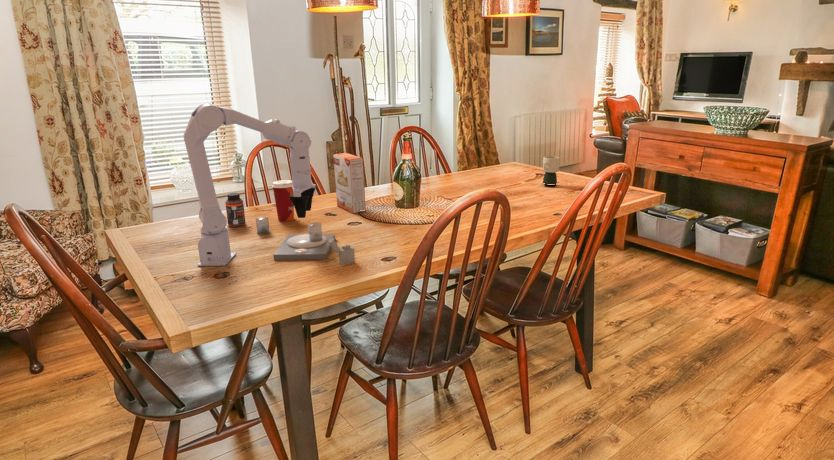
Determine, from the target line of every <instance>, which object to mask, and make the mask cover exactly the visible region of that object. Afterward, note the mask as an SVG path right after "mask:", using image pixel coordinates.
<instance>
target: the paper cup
mask: <svg viewBox="0 0 834 460" xmlns="http://www.w3.org/2000/svg"><path fill="white" fill-rule="evenodd" d="M271 187H272V189H273V195H274V197H273V198H274V203H275V208H276V214H277V220H278V221H279V222H283V223H284V222H285V223H286V222H292V221H294V220H295V207H294V205H293V203H292V201H291V200H290V198H289V196H290V195H293V189H292V179H291V180H289V179H282V180H275V181H273V182H272V185H271Z"/></svg>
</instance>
